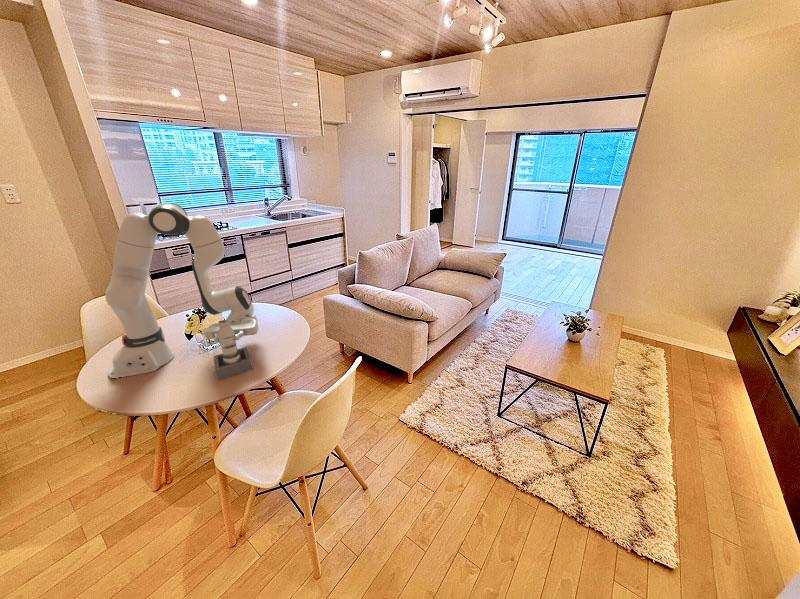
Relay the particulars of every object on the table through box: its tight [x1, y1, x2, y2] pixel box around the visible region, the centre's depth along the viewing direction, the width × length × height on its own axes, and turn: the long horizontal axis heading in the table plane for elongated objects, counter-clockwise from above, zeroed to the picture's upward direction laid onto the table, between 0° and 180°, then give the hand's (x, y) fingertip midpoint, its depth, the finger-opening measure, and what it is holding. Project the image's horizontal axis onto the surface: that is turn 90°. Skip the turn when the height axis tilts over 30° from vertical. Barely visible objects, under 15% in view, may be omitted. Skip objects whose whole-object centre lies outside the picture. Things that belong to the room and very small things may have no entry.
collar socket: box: [212, 346, 254, 381], centre depth 133 cm, size 13×12×4 cm
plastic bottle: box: [217, 319, 242, 366], centre depth 129 cm, size 6×7×20 cm
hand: (226, 339), depth 127 cm, fingers closed on plastic bottle, 6 cm apart
